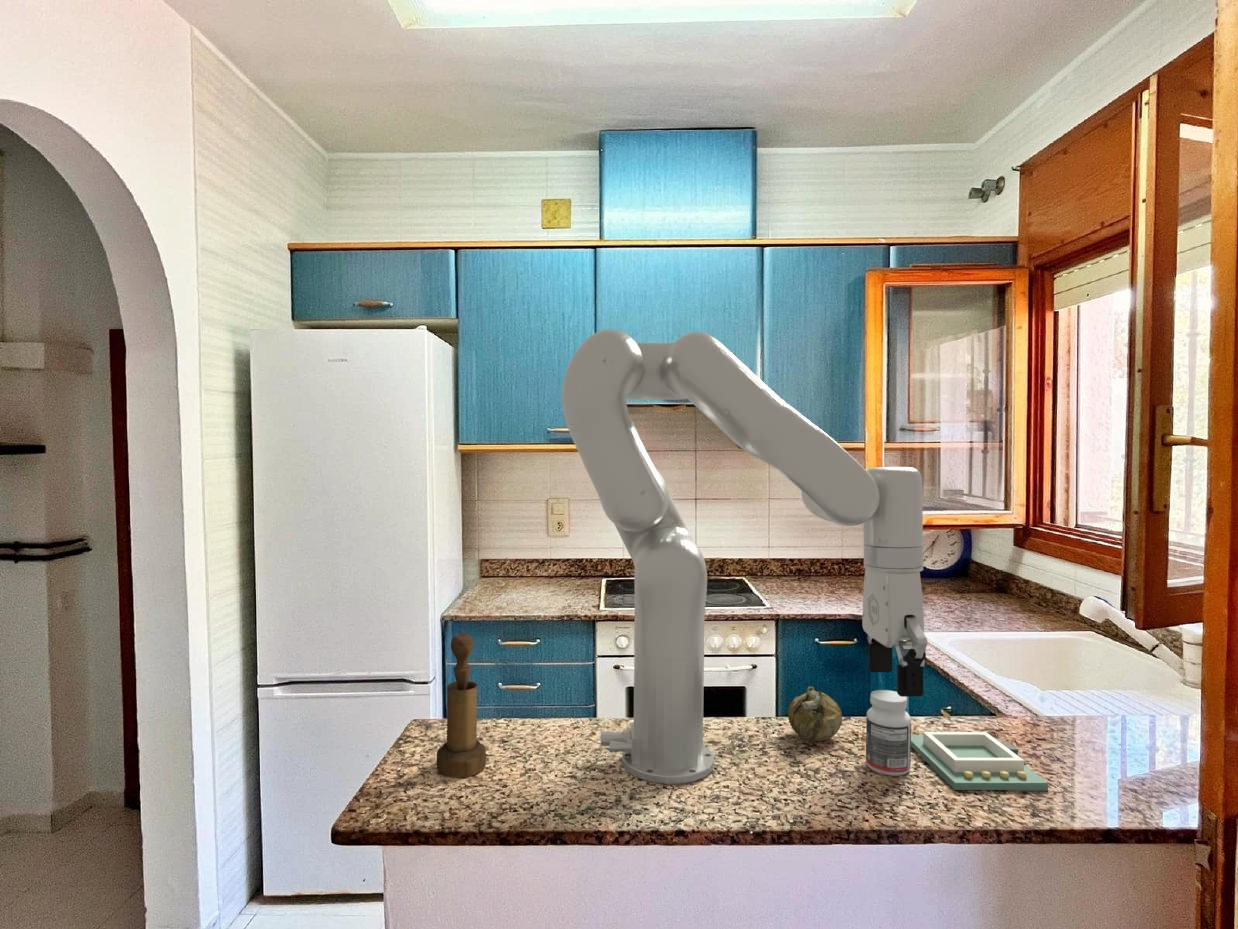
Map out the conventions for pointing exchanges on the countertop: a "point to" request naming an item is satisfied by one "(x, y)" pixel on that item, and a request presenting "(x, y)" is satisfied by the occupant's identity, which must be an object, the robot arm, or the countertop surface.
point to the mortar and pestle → (461, 719)
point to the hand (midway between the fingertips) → (894, 683)
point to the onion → (815, 716)
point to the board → (976, 761)
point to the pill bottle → (888, 734)
